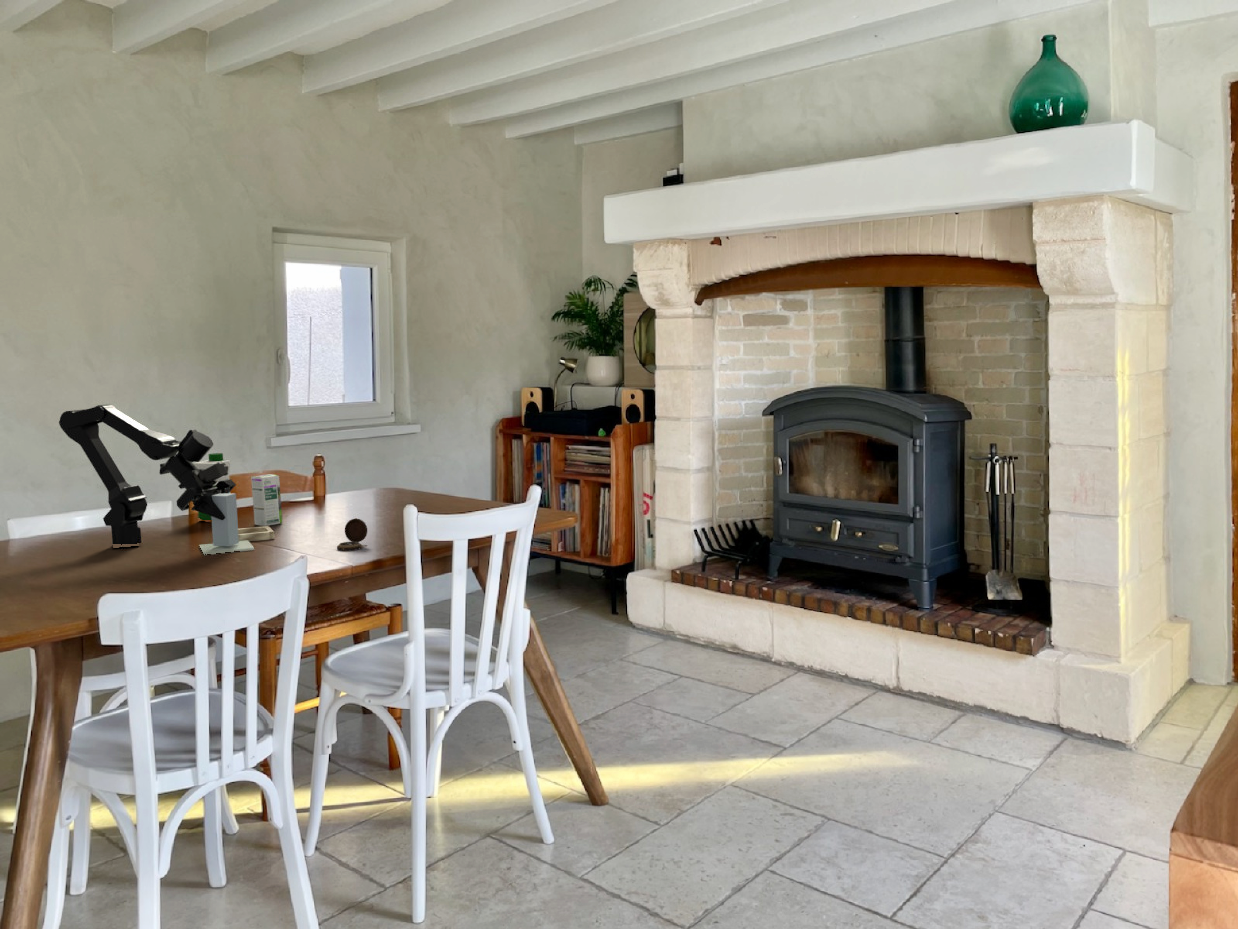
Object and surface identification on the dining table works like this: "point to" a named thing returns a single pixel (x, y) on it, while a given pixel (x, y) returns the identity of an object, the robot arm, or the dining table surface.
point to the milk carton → (208, 463)
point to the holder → (256, 533)
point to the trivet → (226, 548)
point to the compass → (354, 535)
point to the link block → (225, 520)
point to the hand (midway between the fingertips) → (229, 517)
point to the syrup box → (266, 500)
